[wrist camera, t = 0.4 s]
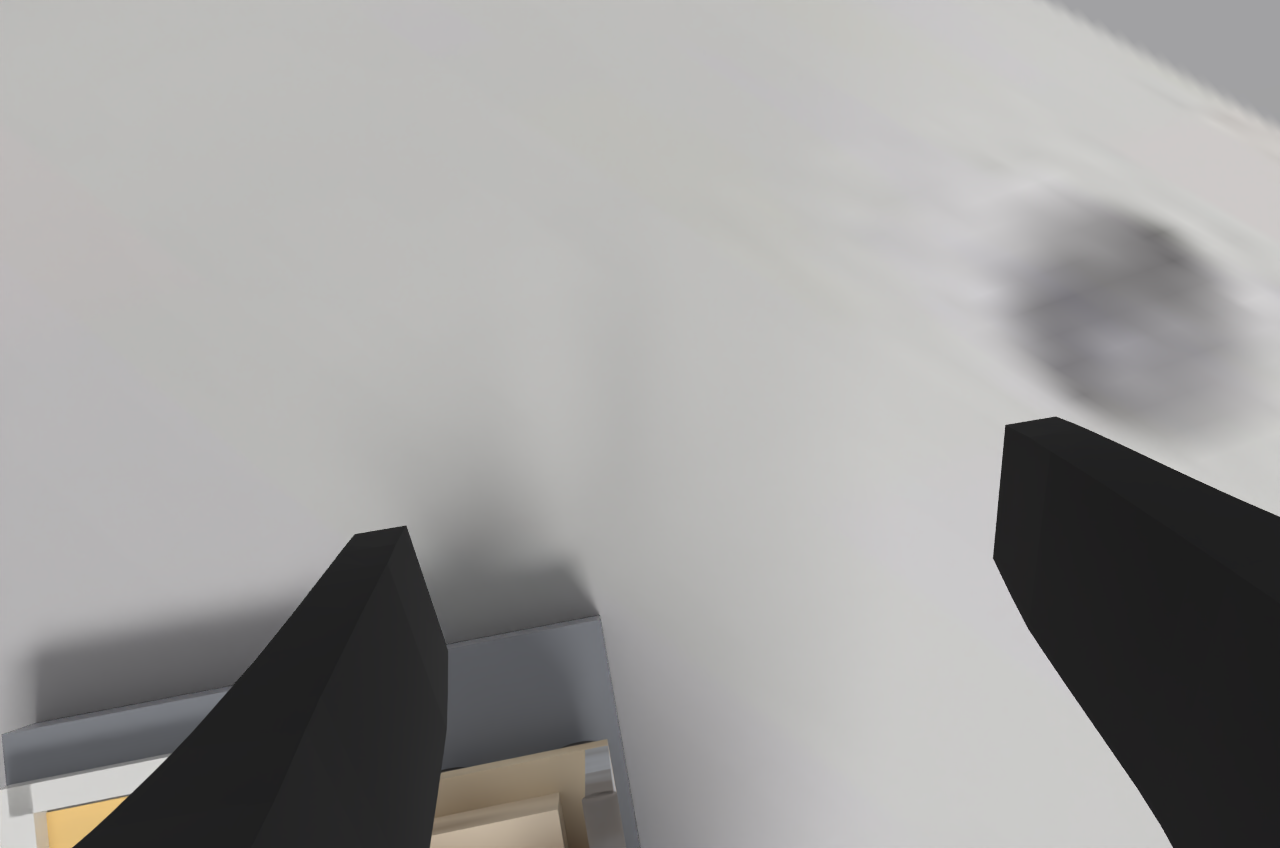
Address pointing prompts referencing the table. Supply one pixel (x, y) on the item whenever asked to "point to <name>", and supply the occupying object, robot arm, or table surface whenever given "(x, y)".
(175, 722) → the dock
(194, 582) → the table surface
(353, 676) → the robot arm
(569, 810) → the toy vehicle
